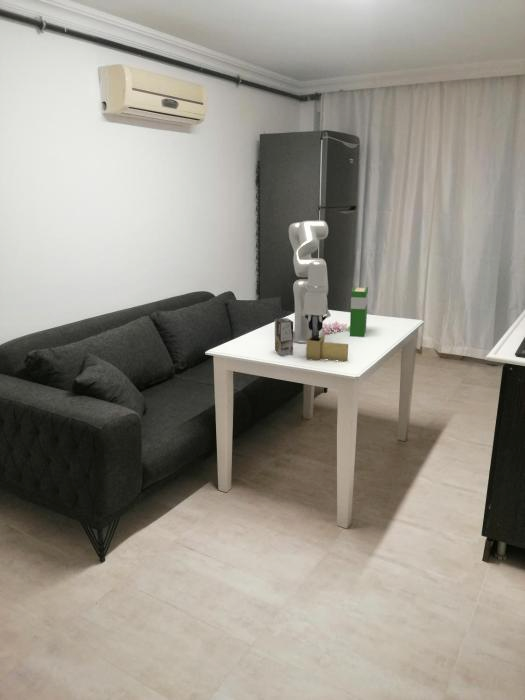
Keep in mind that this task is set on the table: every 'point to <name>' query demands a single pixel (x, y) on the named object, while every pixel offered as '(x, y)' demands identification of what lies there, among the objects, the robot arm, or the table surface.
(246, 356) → the table surface
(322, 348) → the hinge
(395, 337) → the table surface
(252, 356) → the table surface
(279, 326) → the coffee box
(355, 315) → the hardback book
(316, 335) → the pin
